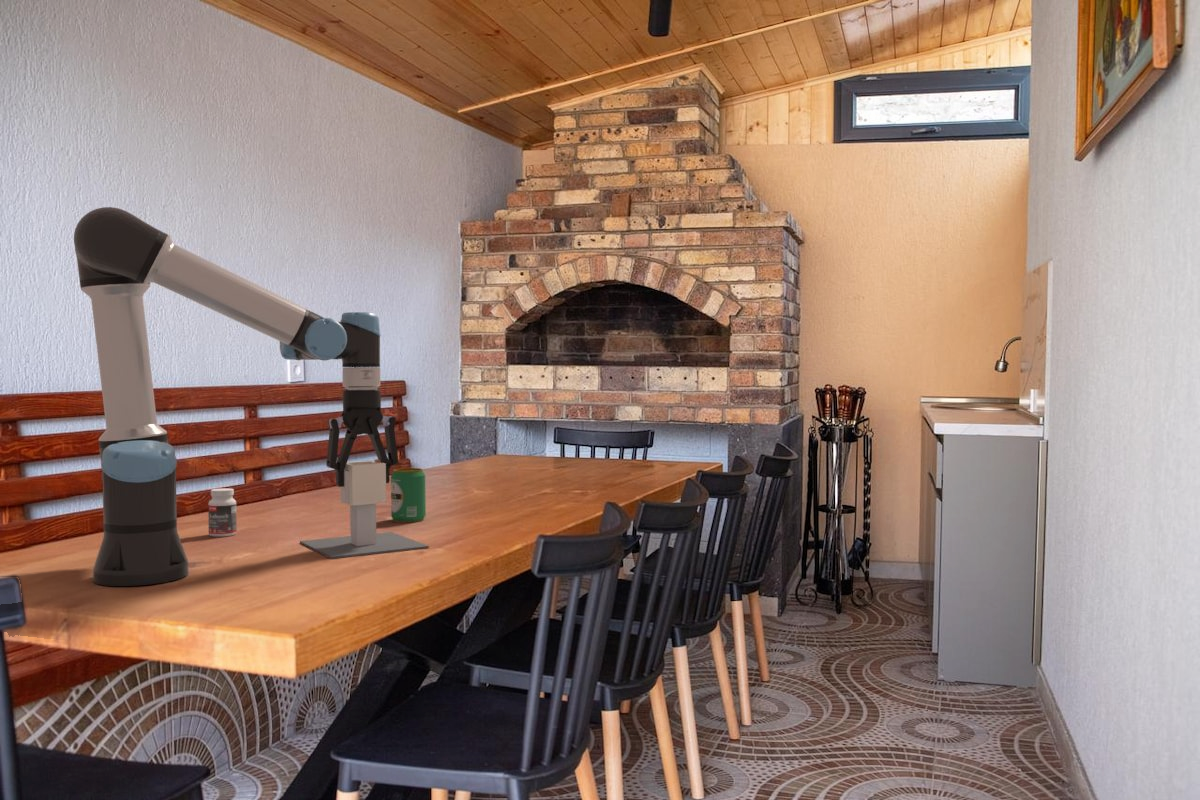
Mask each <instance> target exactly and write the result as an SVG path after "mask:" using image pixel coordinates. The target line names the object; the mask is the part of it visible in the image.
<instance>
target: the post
mask: <svg viewBox="0 0 1200 800" xmlns="http://www.w3.org/2000/svg"><path fill="white" fill-rule="evenodd" d="M349 508H350V512H349V514H350V516H349V517H350V518H349V520H350V535H347V536H346V535H345V536H338V537H327V538H319V539H308V540H306V539H305V540H300V541H299V544H301V545H303V546H306V547H307V548H309V549H311V550H313V551H315V552H317V553H319V554H321V555H323V556H325V557H327V558H329V559H341V558H350V557H360V556H368V555H377V554H385V553H394V552H395V553H396V552H405V551H413V550H421V549H429V548H430V546H429V545H428V544H424V543H422V542H420V541H417V540H414V539H412V538H409V537H406V536H404V535H400V534H398V533H396V532H393V531H389V532H387V531H386V532H378V533H377V504H366V505H355V506H352V505H349Z"/></svg>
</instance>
